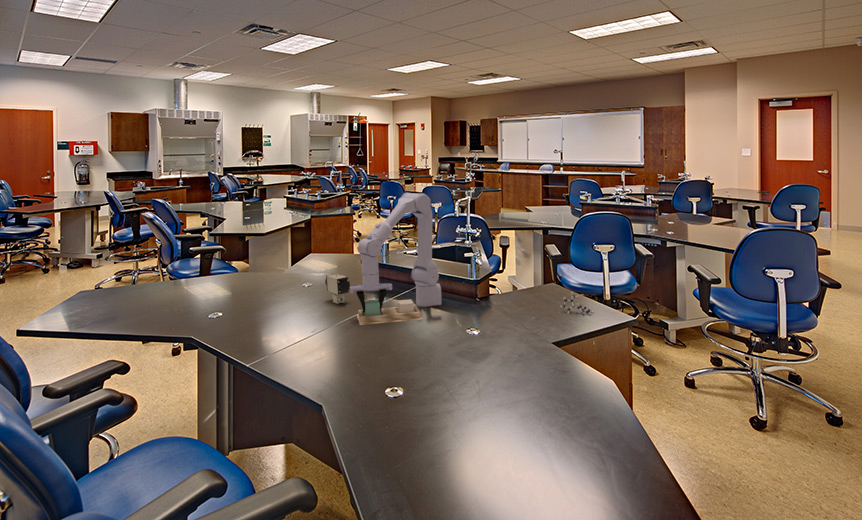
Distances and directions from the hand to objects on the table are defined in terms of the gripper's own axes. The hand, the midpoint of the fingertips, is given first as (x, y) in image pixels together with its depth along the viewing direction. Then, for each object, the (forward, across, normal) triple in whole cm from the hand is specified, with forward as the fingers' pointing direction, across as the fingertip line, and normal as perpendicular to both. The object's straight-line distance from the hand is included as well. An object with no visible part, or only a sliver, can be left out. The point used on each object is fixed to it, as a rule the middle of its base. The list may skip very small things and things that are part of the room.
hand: (372, 310), depth 176 cm
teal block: (+2, 0, 0) cm, 2 cm away
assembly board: (+4, -6, 0) cm, 7 cm away
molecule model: (+4, -73, +12) cm, 74 cm away
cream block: (+3, -12, 0) cm, 12 cm away
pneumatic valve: (+4, +10, -28) cm, 30 cm away
